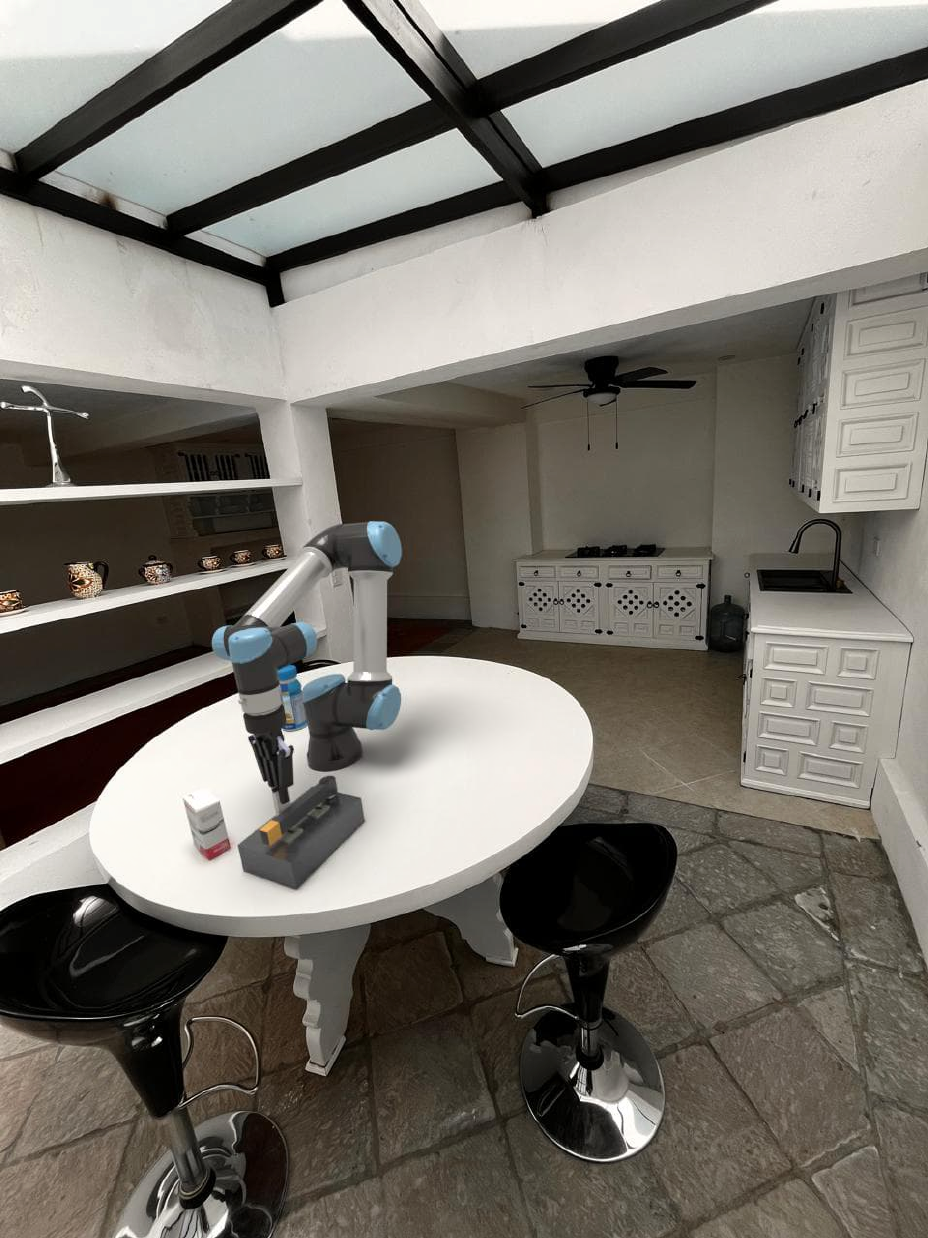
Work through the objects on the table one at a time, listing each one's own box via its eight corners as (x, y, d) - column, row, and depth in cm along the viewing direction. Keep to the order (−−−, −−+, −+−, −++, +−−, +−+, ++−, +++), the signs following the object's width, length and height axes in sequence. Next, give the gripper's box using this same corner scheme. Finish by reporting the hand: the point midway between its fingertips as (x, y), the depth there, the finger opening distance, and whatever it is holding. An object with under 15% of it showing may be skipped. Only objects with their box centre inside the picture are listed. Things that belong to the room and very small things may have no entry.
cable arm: (259, 842, 96) (256, 829, 95) (328, 786, 113) (326, 774, 112) (272, 847, 94) (269, 833, 94) (341, 789, 112) (338, 777, 111)
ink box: (232, 848, 107) (220, 799, 104) (208, 861, 103) (195, 811, 100) (216, 832, 112) (205, 785, 109) (193, 844, 109) (180, 796, 106)
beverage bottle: (309, 728, 161) (299, 669, 156) (282, 734, 158) (270, 675, 153) (307, 718, 168) (297, 662, 164) (281, 724, 166) (269, 667, 161)
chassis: (243, 871, 99) (236, 841, 98) (316, 809, 117) (311, 783, 116) (296, 890, 93) (289, 858, 91) (364, 821, 111) (360, 794, 109)
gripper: (228, 709, 98) (251, 814, 104) (263, 723, 90) (285, 836, 96) (263, 695, 104) (283, 796, 110) (299, 707, 96) (318, 815, 101)
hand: (284, 814), depth 103 cm, fingers closed
